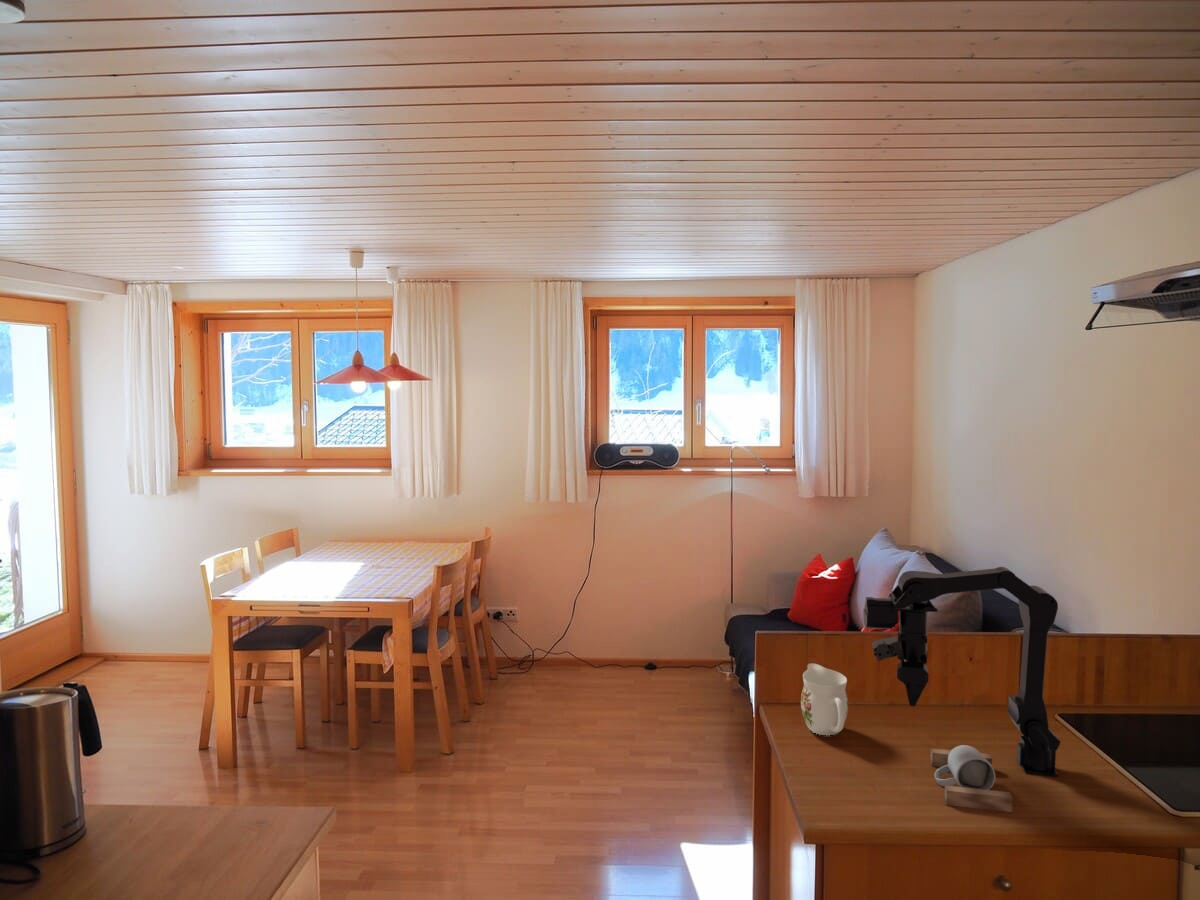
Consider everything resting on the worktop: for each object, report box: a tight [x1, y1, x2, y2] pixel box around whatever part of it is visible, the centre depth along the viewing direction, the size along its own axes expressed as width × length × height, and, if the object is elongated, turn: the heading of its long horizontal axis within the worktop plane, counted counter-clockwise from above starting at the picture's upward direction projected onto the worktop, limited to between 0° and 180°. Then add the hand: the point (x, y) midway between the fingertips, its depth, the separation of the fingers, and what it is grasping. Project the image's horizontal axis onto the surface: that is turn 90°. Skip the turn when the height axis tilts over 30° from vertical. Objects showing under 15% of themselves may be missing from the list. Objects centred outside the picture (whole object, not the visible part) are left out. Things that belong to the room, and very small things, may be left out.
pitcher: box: [800, 663, 849, 737], centre depth 186 cm, size 11×18×14 cm, turn 8°
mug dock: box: [929, 748, 1014, 813], centre depth 162 cm, size 12×18×3 cm, turn 166°
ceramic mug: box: [934, 744, 996, 790], centre depth 162 cm, size 11×8×8 cm
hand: (912, 697), depth 173 cm, fingers open, 9 cm apart
